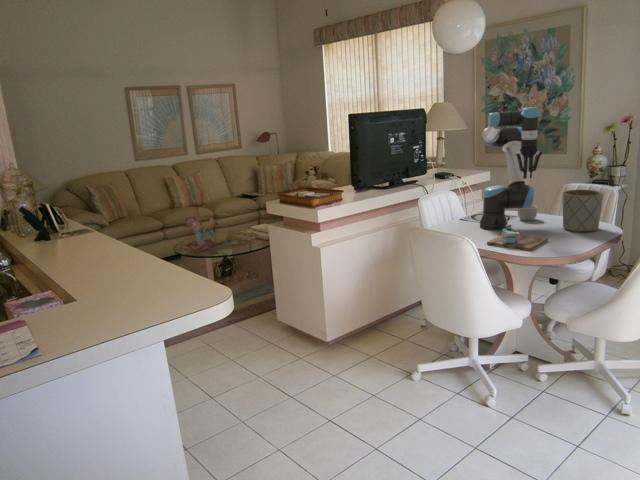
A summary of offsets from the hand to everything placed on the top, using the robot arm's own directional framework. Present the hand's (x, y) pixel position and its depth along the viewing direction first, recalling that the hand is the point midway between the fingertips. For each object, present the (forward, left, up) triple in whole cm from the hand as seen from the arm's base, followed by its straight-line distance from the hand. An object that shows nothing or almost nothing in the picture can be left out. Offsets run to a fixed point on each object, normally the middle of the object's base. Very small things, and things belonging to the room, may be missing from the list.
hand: (527, 184), depth 259 cm
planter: (+20, +24, -27) cm, 41 cm away
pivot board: (+4, -18, -27) cm, 33 cm away
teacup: (-13, +34, -27) cm, 45 cm away
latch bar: (-1, -17, -25) cm, 30 cm away
